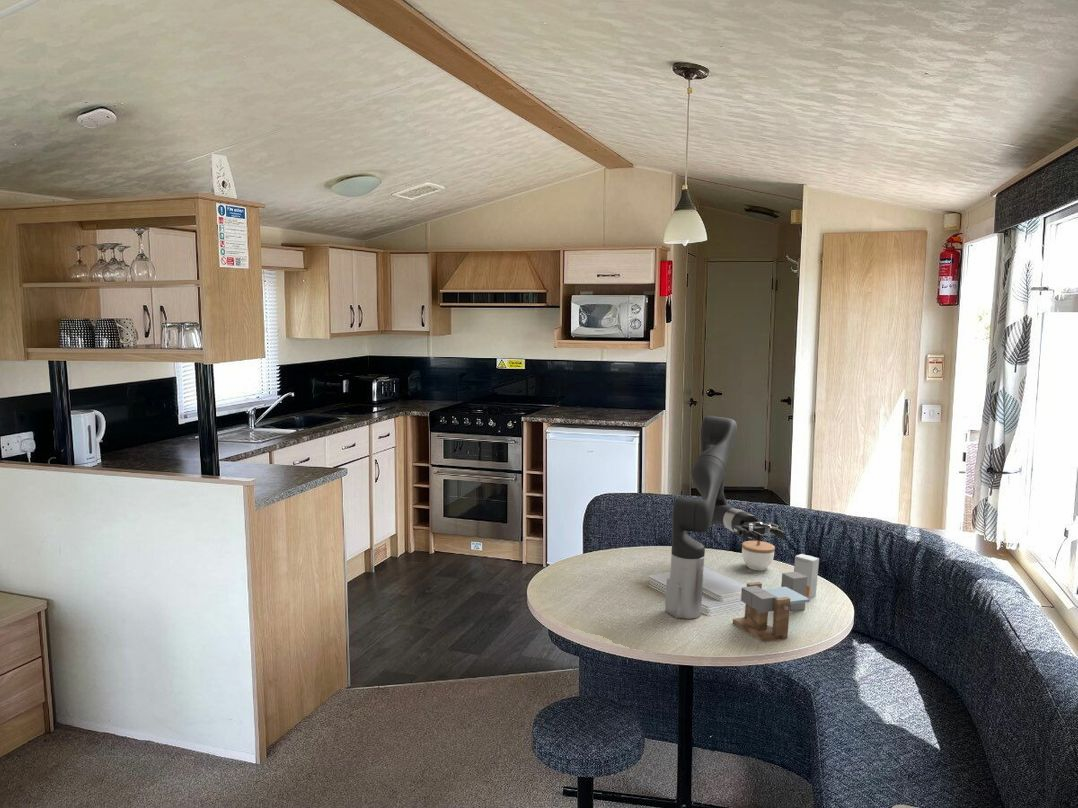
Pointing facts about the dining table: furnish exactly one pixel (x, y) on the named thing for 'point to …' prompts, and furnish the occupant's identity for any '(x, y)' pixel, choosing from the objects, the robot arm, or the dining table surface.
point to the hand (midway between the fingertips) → (772, 536)
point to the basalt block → (795, 587)
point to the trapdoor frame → (758, 621)
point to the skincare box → (808, 572)
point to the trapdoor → (769, 597)
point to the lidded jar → (757, 554)
